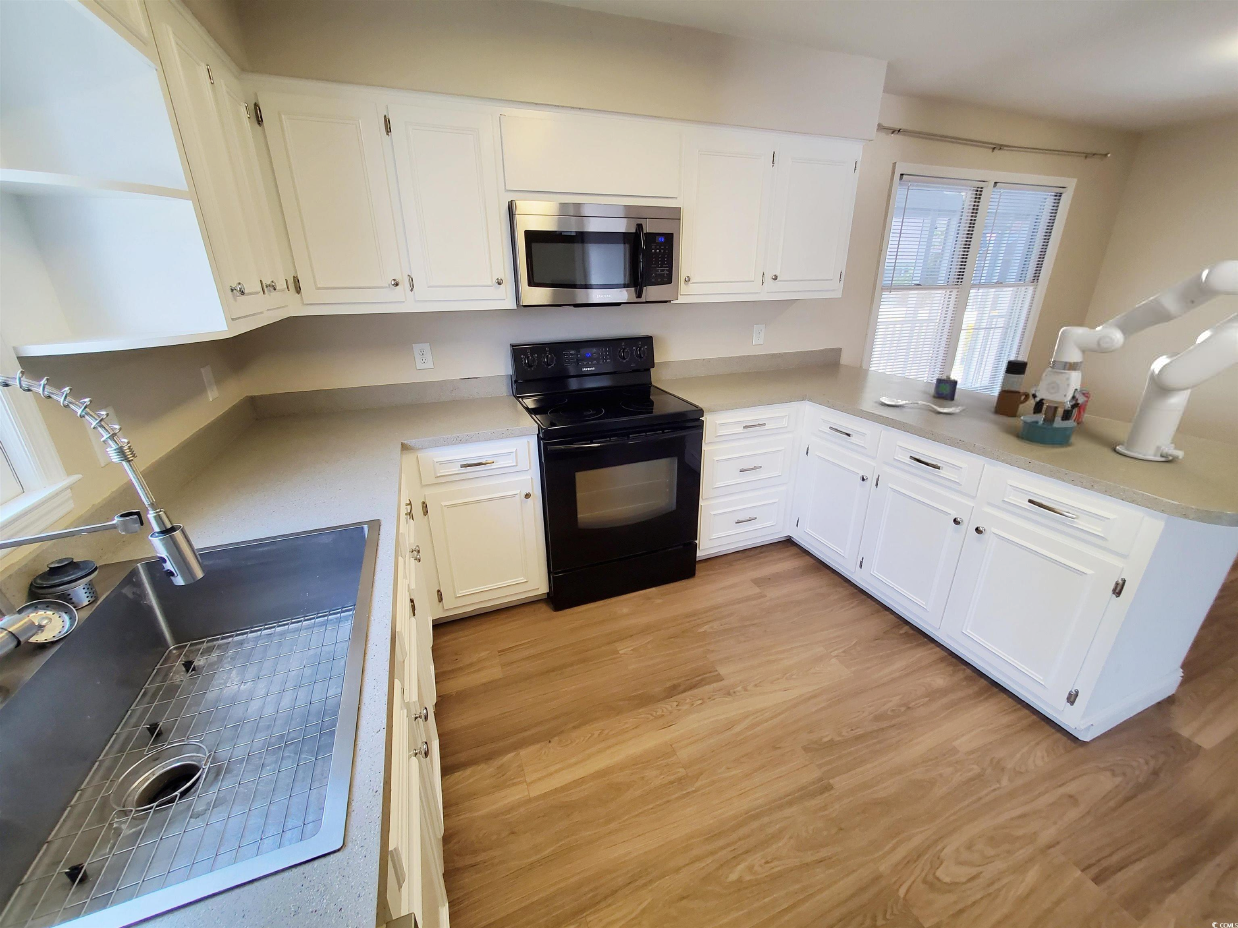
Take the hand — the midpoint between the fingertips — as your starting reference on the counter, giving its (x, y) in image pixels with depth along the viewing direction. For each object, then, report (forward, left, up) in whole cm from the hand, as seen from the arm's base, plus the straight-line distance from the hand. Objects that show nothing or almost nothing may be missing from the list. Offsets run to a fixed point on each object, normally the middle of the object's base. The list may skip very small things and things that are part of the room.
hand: (1050, 416), depth 167 cm
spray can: (+35, -26, -9) cm, 44 cm away
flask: (+58, -18, -9) cm, 61 cm away
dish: (0, 0, -9) cm, 9 cm away
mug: (+28, -20, -9) cm, 35 cm away
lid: (0, 0, -2) cm, 2 cm away
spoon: (+47, +7, -9) cm, 48 cm away
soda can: (+13, -31, -9) cm, 35 cm away
